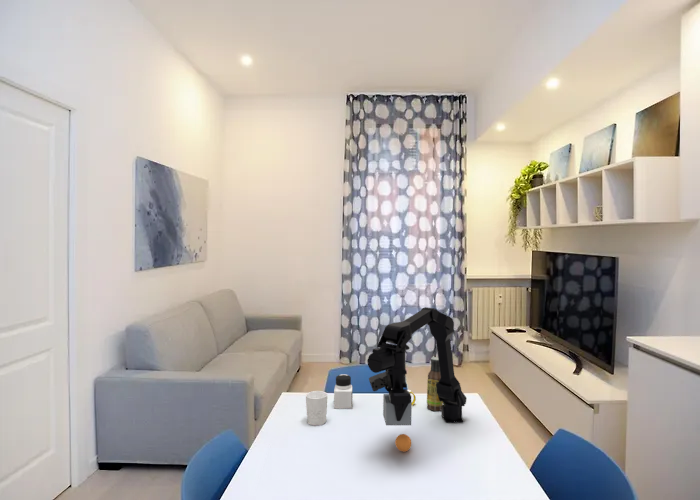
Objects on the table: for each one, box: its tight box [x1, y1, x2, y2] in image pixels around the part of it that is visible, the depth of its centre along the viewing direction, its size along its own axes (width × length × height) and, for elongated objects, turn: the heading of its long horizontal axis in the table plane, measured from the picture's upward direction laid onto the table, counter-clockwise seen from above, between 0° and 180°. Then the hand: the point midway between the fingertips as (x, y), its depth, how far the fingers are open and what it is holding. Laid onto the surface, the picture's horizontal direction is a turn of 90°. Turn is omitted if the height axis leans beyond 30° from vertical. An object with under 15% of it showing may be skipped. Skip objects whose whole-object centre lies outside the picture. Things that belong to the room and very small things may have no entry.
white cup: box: [305, 390, 328, 427], centre depth 148 cm, size 8×8×10 cm
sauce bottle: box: [426, 356, 443, 412], centre depth 160 cm, size 6×6×20 cm
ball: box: [394, 433, 412, 453], centre depth 127 cm, size 5×5×5 cm
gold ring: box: [407, 389, 417, 406], centre depth 164 cm, size 6×3×6 cm, turn 103°
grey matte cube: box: [382, 393, 413, 426], centre depth 127 cm, size 8×8×7 cm
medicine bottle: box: [333, 374, 353, 410], centre depth 164 cm, size 7×7×12 cm
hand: (396, 415), depth 127 cm, fingers closed on grey matte cube, 8 cm apart
